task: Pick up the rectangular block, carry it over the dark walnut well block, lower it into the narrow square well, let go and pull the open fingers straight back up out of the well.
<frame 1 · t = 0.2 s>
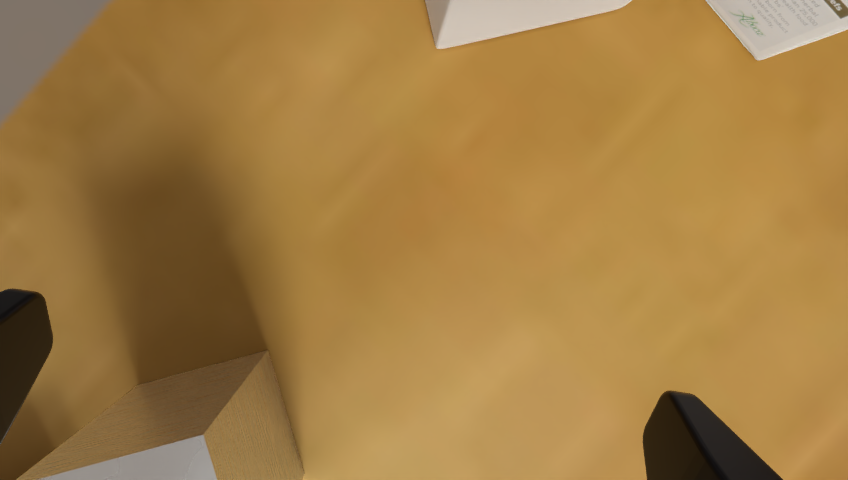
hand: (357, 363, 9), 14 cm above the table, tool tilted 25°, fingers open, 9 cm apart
rectangular block: (222, 429, 23), on the table
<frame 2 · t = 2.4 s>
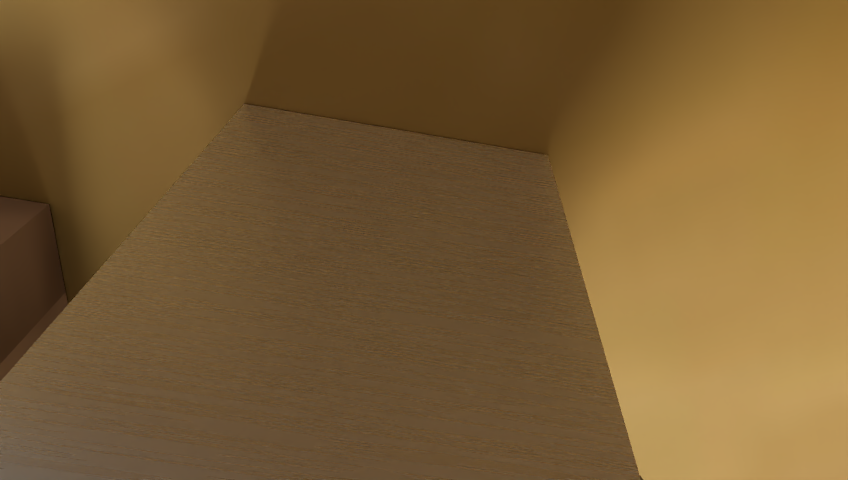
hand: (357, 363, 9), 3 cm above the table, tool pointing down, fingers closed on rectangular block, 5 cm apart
rectangular block: (379, 255, 11), on the table, touching gripper
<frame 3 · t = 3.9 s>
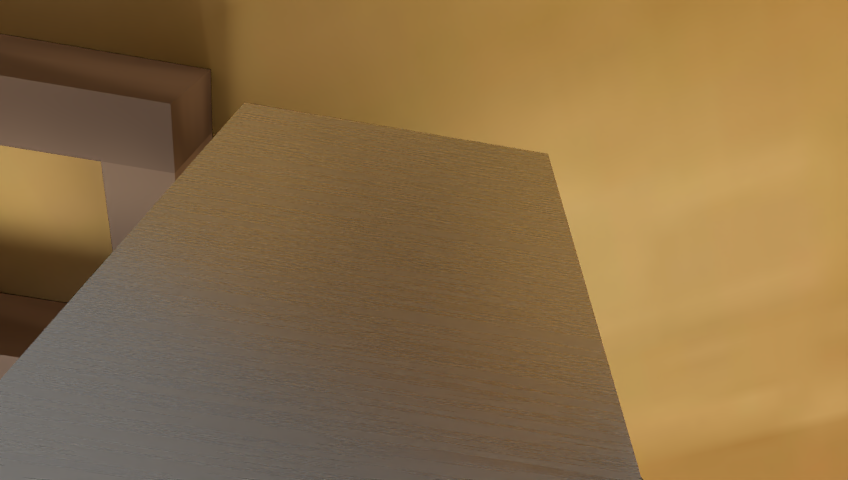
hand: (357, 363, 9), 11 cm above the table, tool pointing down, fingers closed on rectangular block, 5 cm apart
well block: (40, 210, 21), on the table
rectangular block: (379, 254, 11), point 8 cm above the table, touching gripper
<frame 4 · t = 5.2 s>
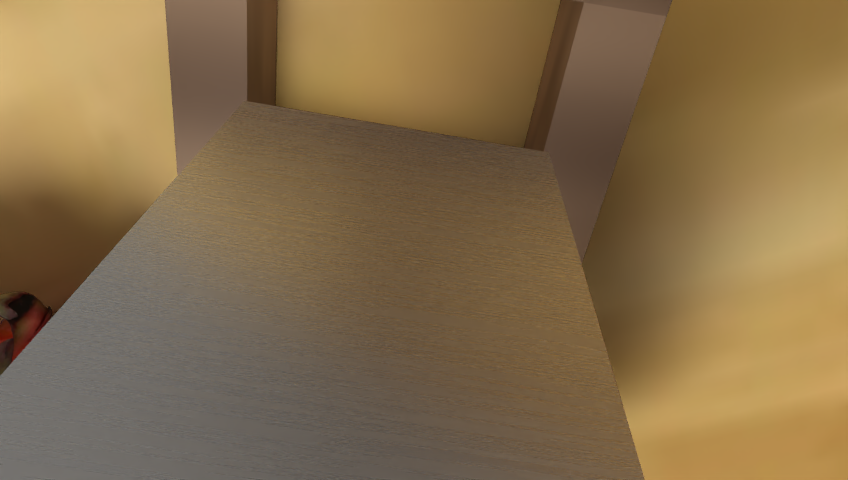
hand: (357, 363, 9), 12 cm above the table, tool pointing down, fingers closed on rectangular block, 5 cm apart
dragon fruit: (80, 346, 26), on the table
well block: (404, 96, 19), on the table
rectangular block: (379, 253, 11), point 9 cm above the table, touching gripper
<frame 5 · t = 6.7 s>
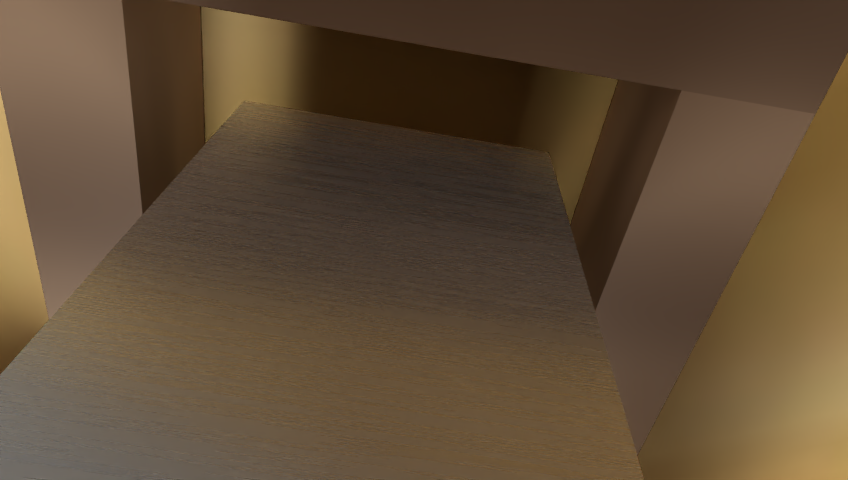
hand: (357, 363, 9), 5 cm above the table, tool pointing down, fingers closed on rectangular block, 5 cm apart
well block: (390, 192, 13), on the table
rectangular block: (379, 253, 11), point 2 cm above the table, touching gripper
when the fingers open (4 cm above the table, at t = 7.8 s): rectangular block drops 1 cm, resting in well block.
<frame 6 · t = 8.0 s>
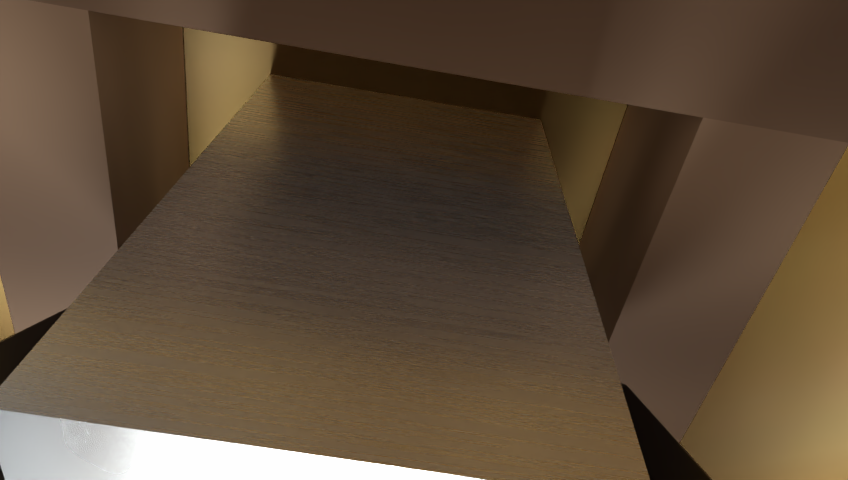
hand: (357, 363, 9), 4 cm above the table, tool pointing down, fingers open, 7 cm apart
well block: (386, 215, 13), on the table
rectangular block: (389, 214, 13), resting in well block
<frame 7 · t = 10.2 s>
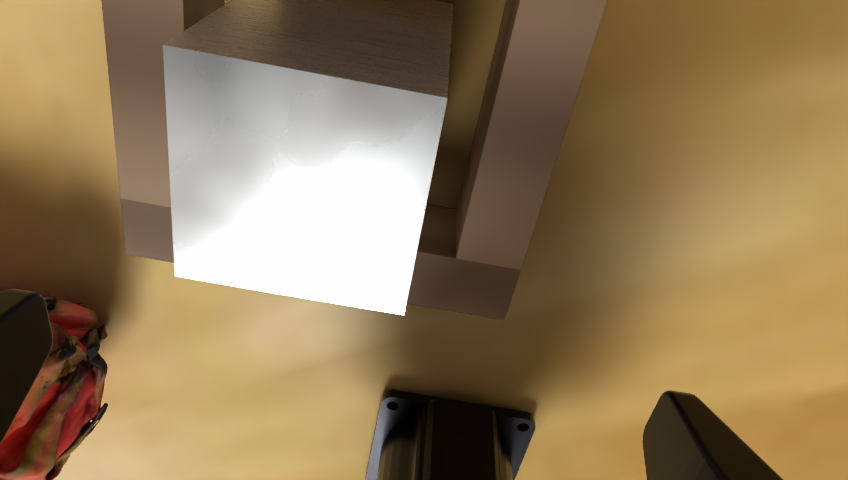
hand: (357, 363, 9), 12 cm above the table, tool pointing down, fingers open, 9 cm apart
dragon fruit: (28, 324, 25), on the table
well block: (354, 73, 19), on the table
rectangular block: (356, 72, 19), resting in well block
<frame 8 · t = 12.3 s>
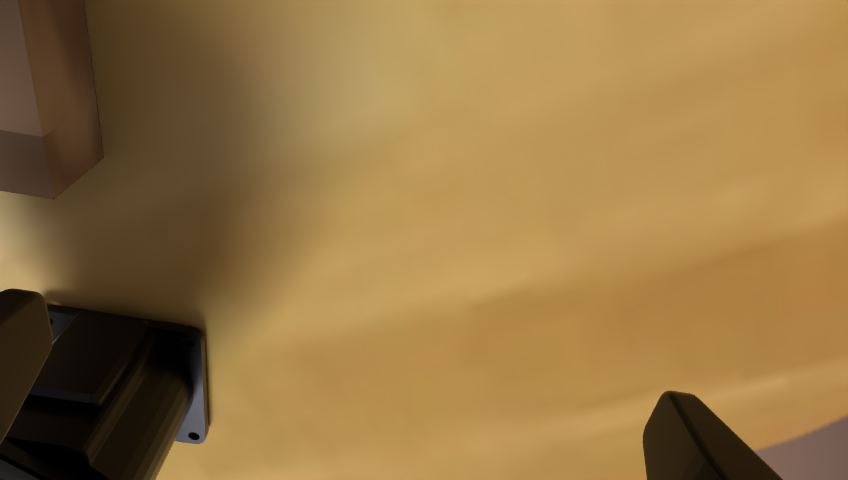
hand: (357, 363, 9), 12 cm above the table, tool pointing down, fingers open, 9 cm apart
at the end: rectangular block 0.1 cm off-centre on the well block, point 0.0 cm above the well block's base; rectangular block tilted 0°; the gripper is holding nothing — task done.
